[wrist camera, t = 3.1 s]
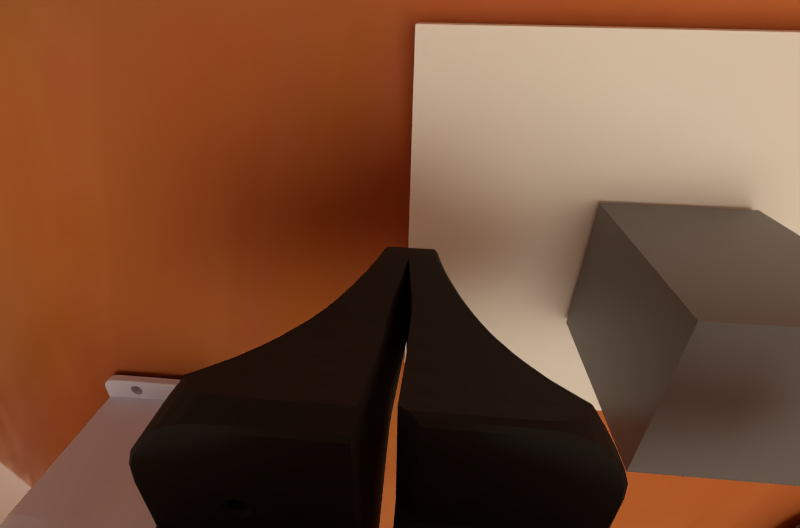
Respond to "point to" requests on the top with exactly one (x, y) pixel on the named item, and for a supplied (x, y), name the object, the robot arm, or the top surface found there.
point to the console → (585, 154)
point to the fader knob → (694, 339)
